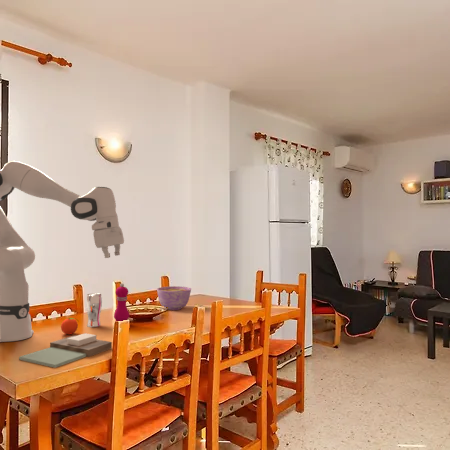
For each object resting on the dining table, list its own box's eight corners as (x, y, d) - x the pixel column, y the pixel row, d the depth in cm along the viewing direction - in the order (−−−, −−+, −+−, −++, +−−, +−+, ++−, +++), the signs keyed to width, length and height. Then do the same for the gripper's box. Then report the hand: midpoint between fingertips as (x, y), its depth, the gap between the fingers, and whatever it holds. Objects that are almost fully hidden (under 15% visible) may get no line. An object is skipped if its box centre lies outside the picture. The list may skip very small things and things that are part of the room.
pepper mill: (113, 327, 196) (114, 284, 196) (113, 323, 203) (114, 282, 203) (129, 326, 198) (130, 284, 198) (128, 322, 205) (129, 282, 205)
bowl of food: (152, 306, 247) (152, 287, 247) (184, 304, 255) (184, 285, 256) (162, 313, 229) (162, 292, 229) (196, 310, 237) (196, 290, 237)
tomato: (74, 331, 188) (74, 315, 188) (83, 333, 184) (83, 317, 184) (57, 334, 182) (57, 318, 182) (66, 337, 178) (66, 320, 178)
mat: (19, 359, 147) (19, 356, 147) (51, 349, 160) (51, 346, 160) (54, 367, 139) (54, 364, 139) (86, 356, 152) (86, 353, 152)
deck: (50, 349, 160) (50, 342, 160) (74, 341, 171) (74, 335, 171) (88, 356, 151) (88, 349, 151) (111, 348, 162) (111, 342, 162)
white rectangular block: (67, 343, 159) (67, 338, 159) (85, 338, 167) (85, 333, 167) (78, 345, 156) (78, 340, 156) (96, 340, 164) (96, 335, 164)
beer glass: (103, 324, 202) (103, 293, 202) (99, 327, 195) (99, 295, 195) (88, 324, 202) (89, 293, 202) (84, 327, 195) (84, 295, 195)
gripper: (111, 224, 188) (116, 254, 188) (89, 226, 168) (94, 260, 168) (124, 222, 187) (129, 253, 187) (103, 224, 166) (108, 258, 167)
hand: (112, 256), depth 177 cm, fingers open, 8 cm apart
